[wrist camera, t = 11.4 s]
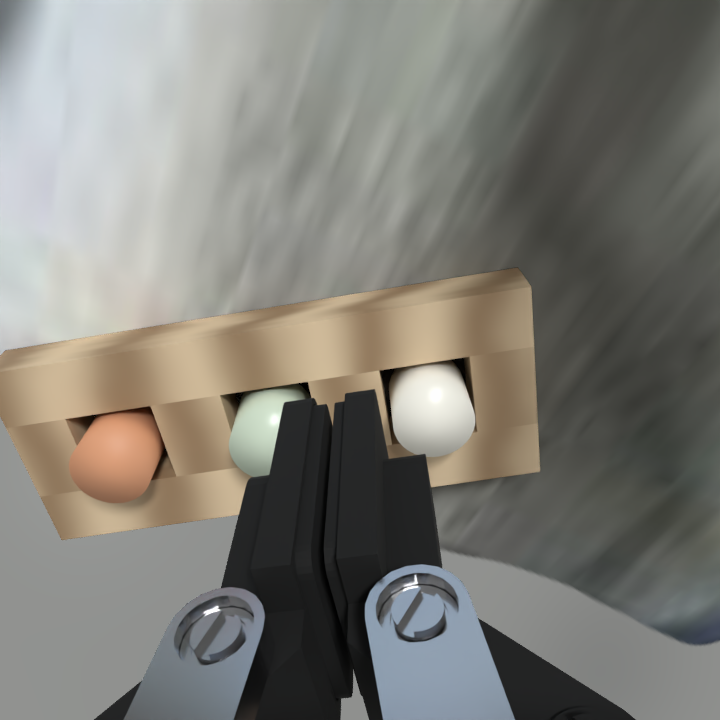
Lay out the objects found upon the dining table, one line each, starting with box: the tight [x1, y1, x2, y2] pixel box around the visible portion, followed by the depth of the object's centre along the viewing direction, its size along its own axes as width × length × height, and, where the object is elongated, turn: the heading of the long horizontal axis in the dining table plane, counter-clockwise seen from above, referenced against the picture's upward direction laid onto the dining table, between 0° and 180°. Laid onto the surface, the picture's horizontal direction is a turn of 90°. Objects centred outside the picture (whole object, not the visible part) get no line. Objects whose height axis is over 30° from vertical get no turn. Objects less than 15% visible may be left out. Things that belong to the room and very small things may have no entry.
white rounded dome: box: [389, 360, 475, 457], centre depth 36 cm, size 4×4×4 cm
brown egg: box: [69, 406, 165, 503], centre depth 38 cm, size 4×4×4 cm
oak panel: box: [0, 268, 540, 540], centre depth 39 cm, size 30×12×3 cm, turn 99°
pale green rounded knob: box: [229, 383, 311, 477], centre depth 37 cm, size 4×4×4 cm
